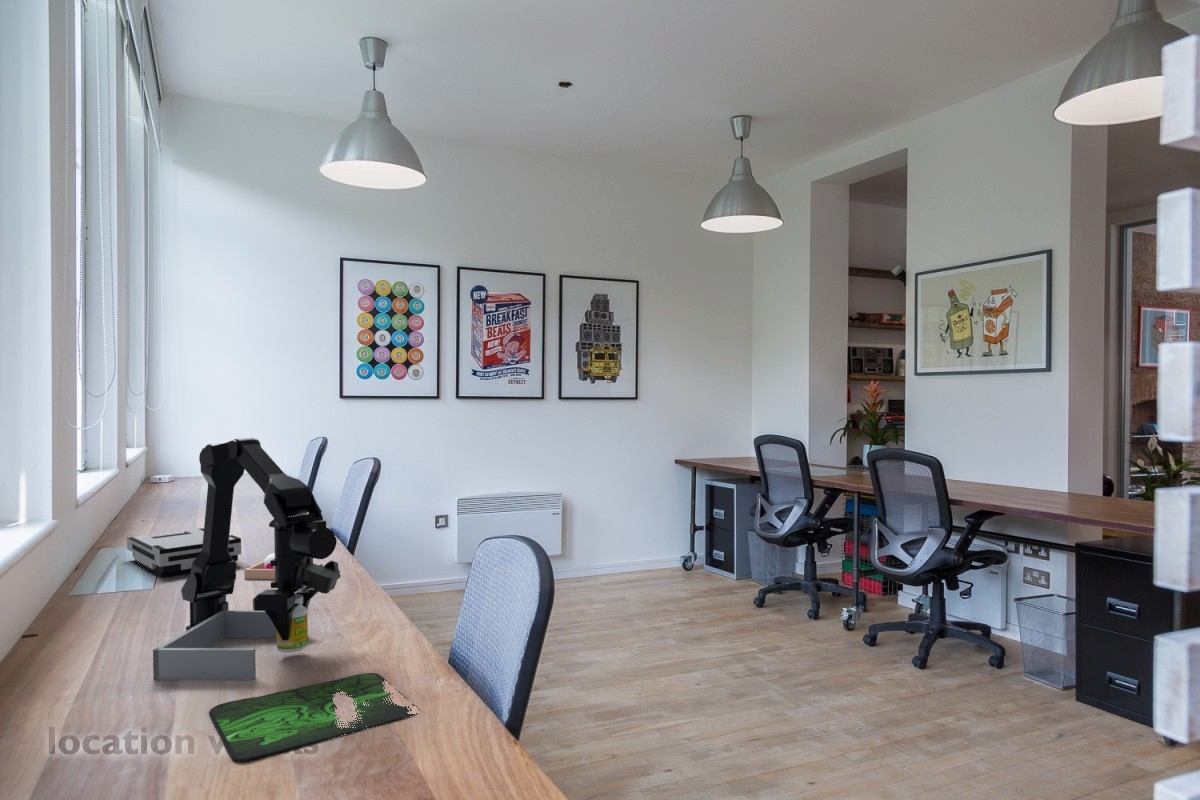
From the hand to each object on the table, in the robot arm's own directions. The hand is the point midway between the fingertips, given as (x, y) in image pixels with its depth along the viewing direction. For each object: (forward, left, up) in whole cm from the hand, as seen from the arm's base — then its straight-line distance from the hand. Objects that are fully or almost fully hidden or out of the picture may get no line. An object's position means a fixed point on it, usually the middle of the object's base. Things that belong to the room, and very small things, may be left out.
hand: (292, 634), depth 142 cm
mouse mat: (+14, -24, -5) cm, 28 cm away
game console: (-65, +75, -5) cm, 99 cm away
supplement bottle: (0, 0, -3) cm, 3 cm away
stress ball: (-32, +62, -4) cm, 70 cm away
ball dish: (-31, +63, -4) cm, 70 cm away
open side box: (-11, 0, -4) cm, 12 cm away
